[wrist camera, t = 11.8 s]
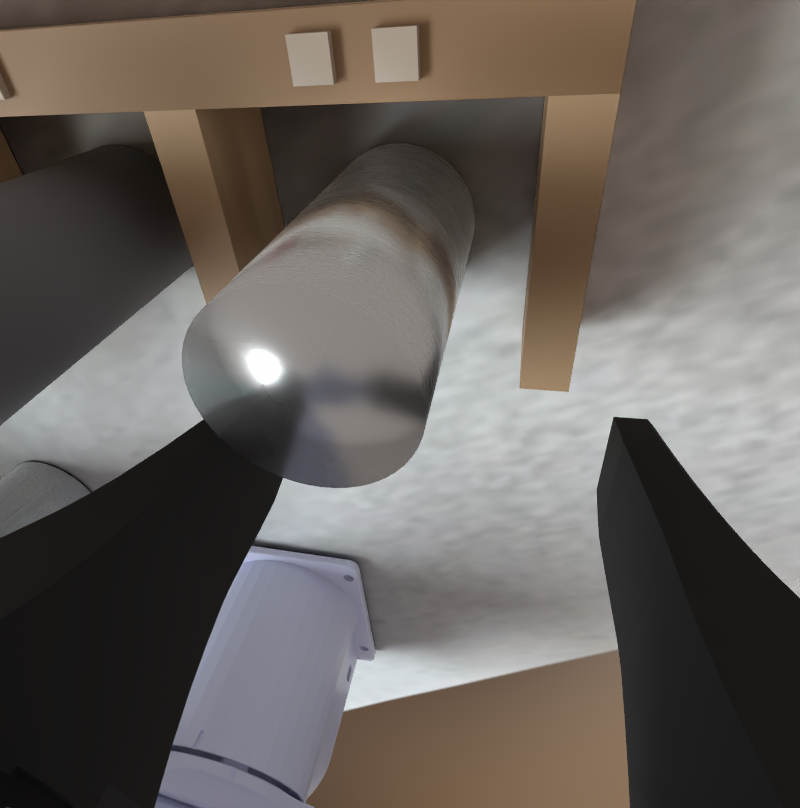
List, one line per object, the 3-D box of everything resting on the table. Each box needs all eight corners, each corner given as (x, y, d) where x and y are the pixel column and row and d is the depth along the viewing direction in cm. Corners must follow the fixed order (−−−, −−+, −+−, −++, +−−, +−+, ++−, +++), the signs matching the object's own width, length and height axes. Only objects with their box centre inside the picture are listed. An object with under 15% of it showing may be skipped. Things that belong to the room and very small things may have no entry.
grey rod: (482, 282, 15) (443, 490, 9) (352, 294, 16) (239, 486, 10) (465, 130, 13) (397, 271, 7) (314, 156, 14) (137, 297, 8)
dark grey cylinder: (218, 276, 17) (39, 444, 10) (111, 279, 17) (-113, 436, 11) (172, 139, 14) (-97, 252, 8) (49, 150, 15) (-278, 260, 9)
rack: (564, 330, 15) (568, 396, 13) (59, 305, 19) (-13, 353, 16) (617, -19, 10) (641, -18, 8) (-83, 36, 14) (-215, 48, 11)
